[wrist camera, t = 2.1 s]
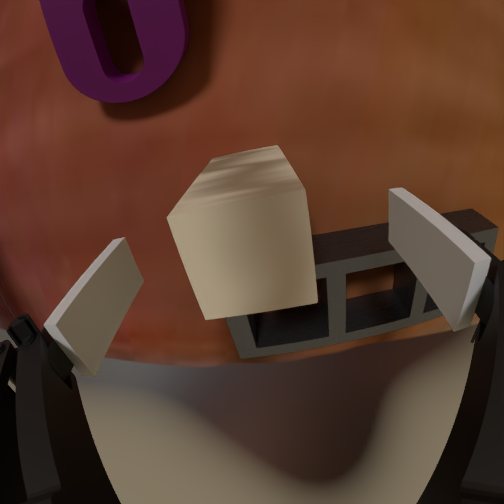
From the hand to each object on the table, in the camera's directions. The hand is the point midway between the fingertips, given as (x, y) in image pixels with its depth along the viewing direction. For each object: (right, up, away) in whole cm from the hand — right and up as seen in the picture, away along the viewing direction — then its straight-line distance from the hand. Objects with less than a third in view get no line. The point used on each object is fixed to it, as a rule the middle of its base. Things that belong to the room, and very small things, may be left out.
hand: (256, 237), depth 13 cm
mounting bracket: (-10, +19, +1) cm, 22 cm away
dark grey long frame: (+11, -2, +12) cm, 16 cm away
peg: (0, +5, +8) cm, 10 cm away
